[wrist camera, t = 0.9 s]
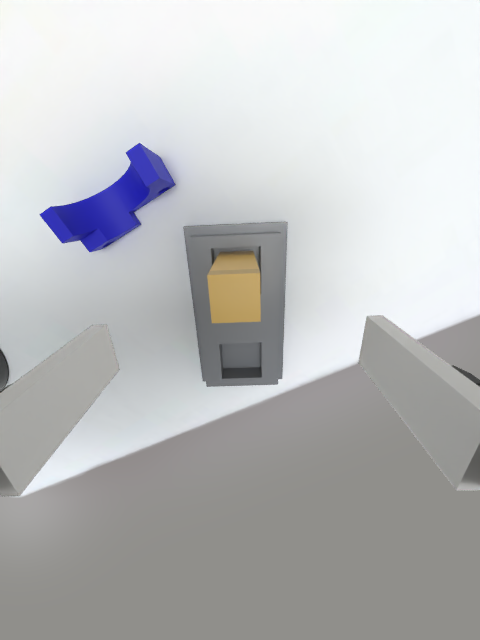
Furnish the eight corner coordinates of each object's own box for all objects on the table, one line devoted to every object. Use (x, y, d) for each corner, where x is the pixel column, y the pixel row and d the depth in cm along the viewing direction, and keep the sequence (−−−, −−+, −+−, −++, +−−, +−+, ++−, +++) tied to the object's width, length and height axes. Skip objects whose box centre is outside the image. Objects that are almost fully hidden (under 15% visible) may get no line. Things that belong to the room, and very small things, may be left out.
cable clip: (103, 248, 31) (73, 256, 25) (77, 214, 29) (39, 214, 23) (183, 197, 28) (169, 194, 23) (160, 157, 27) (139, 142, 21)
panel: (203, 377, 38) (200, 392, 35) (185, 226, 29) (178, 227, 26) (281, 374, 38) (284, 389, 35) (285, 221, 29) (291, 222, 26)
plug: (222, 284, 31) (211, 323, 20) (219, 251, 29) (207, 275, 18) (253, 282, 31) (260, 321, 20) (253, 250, 29) (260, 272, 18)
